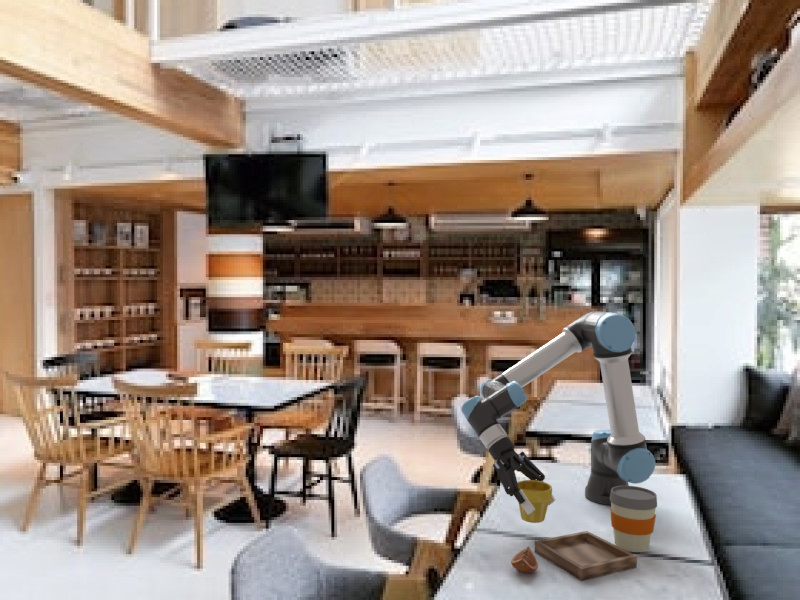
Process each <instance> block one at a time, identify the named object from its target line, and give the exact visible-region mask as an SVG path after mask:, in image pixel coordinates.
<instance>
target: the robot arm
mask: <svg viewBox="0 0 800 600" xmlns="http://www.w3.org/2000/svg"><path fill="white" fill-rule="evenodd" d="M635 340H636V328H635V325H634V324H633V323H632V321H631V320H630V319H629V318H628V317H626V316H625V315H623V314H621V313H617V312H614V311H613V312H610V311H609V312H608V311H601V310H594V311H591V312H587V313H586V314H584V315H582V316H580V317H578V318H577V319H575V320H574V321H572V322H571V323H570V324H567V325H566V326H565V327H563V328H562V332H561V333H560V334H559V335H557V336H555V338H553V339H551V340H550V341H548V342H546V343H545V344H544V345H542V346H541V347H539V348H538V349H536V350H535V351H533V352H532V353H531V354H528V355H527V356H526V357H524V358H523V359H521V360H520V361H518V362H517V363H516V364H514V365H513V366H511V367H509V368H508V369H507V370H505V371H504V372H502V373H501V374H499V375H497V376H495V378H488V379H485V380H484V381H483V382H482V383H481V385H480V389H479V391H480V395H481V396H480V395H474V396H473V397H470V398H469V399H467V400H466V401H465V402H464V403H463V404H462V405H461V413H462V415H464V418H465V420H466V421H467V423H468V424H469V426H471V428H472V429H473V431H474V432H475V434H476V435H477V437H478V438H479V439H480V441H481V442H482V444H483V445H484V447H485V449H488V453H489V454H490V456H491V458H492V459H493V460H494V461H495V462H494V463H493V464H492V467H493V468H494V470H495V471H496V473H497V475H498V477H499V479H500V482H501V484H502V487H503V489H504V492H505V493H506V494H507V495H508V496H509V497H513V496H514V497H515V500H517V502H518V504H519V503H520V504H521V506H522V507H523V509H524V510H525V511H526V513H527V514H528V515H529V514H531V513H532V512H533V511H534V510H535V508H534V507H533V505H532V504H531V502H530V501H529V499H528V498H527V496H526V495H525V494H524V492H523V491H522V489H521V490H520V491H519V487H518V483H517V482H518V480H517V476H516V472H515V471H517V472H518V473H522V475H524V476H525V477H526V478H528V480H536V481H542V482H544V480H545V479H546V475H545V473H543V472H542V470H541V469H539V468H538V467H537V465H536V464H534V463H533V461H532V460H531V459H529V457H528V456H527V455H526V453H525V452H524V451H521V452H520V453H517V452H516V451H515V447H516V446H515V444H514V442H513V441H512V440H511V438H510V437H509V436H507V435H508V434H507V432H506V431H505V429H504V428H503V427H502V425H501V424H500V423H499V421H498V420H500V419H501V418H503V417H505V416H506V415H507V414H509V413H511V412H512V411H514V410H515V409H517V408H520V406H521V405H523V404H524V403H525V402H527V400H528V399H527V398H528V397H527V394H526V392H525V390H524V389H523V388H524V387H525V386H526V385H528V384H530V383H531V382H533V381H535V380H536V379H538V378H539V377H541V376H542V375H543V374H545V373H547V372H548V371H549V370H551V369H552V368H554V367H555V366H557V365H558V364H560V363H561V362H563V361H564V360H566V359H567V358H569V357H570V356H571V355H573V354H575V353H582V352H583V351H585V350H587V349H589V348H592V352H593V354H592V355H593V358H594V359H595V360H596V361H598V362H599V366H600V372H601V377H602V378H601V379H602V384H603V385H602V386H603V391H604V398H605V404H606V412H607V416H608V424H609V429H599V430H598V429H597V430H595V431H593V432H592V435H591V436H592V438H591V451H590V453H591V454H590V455H591V456H590V459H591V460H590V475H589V478H588V481H587V484H586V486H585V489H584V496H585V498H586V499H588V500H589V501H592V502H594V503H596V504H597V503H598V504H602V505H608V506H611V501H610V493H611V489H612V488H613V487H616V486H630V484H641V483H644V482H646V481H647V480H648V479H650V477H651V476H652V475H653V473H654V472H655V468H656V459H655V457H654V455H653V453H652V452H651V451H650V450H649V449H648V448H647V441H646V437H645V436H646V435H644V434H643V433H641V432H640V430H639V422H638V416H637V409H636V402H635V395H634V390H633V385H632V378H631V370H630V364H629V358H630V356H631V355H632V353H633V348H632V346H633V345H634V344H633V343H634V342H635ZM629 483H630V484H629ZM555 501H557V499H556V498H555V496H554V495H553V494H552V498H551V500H550V501H549V503H548V506H551V505H552V504H553V503H554V502H555Z"/></svg>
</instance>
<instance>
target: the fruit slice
mask: <svg viewBox="0 0 800 600" xmlns="http://www.w3.org/2000/svg"><path fill="white" fill-rule="evenodd" d="M510 565H511V566H512V567H513V568H514V569H516V570H517V571H519V572H522V573H527V574H528V573H533V572H535V571H536V570H538V568H539V564H538V561H537V558H536V555H535V554H534V552H533V551H532V549H531V548H530V547H529V546H527V547H525V548H523V549H522V550H520V551H519V552H517V553H516V554H515V555H514V556H513V557H512V559H511V560H510Z"/></svg>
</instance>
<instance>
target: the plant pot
mask: <svg viewBox="0 0 800 600" xmlns="http://www.w3.org/2000/svg"><path fill="white" fill-rule="evenodd" d="M536 480H537V479H536ZM536 480H530V479H524V480H520V481H517V483H518V487H519V491H520V490H521V489H522V491H523V492H524V494H525V495H526V496H527V498H528V499H529V501H530V502H531V504H532V505H533V507H534V508H535V510H534V511H533V512H532V513H531V514H529V515H528V514H527V513H526V511H525V510H524V509H523V507H522V506H521V504H520V503H519V502H518V507H519V513H520V518H521V520H523V521H525V522H527V523H532V524H539V523H542V522H544V521H545V519H546V515H547V510H548V507H549V505H548V503H549V501H550V500H551V498H552V495H553V487H552V485H551V484H549V483H548V482H546V481H543V482H542V481H536Z"/></svg>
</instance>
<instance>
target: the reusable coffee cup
mask: <svg viewBox="0 0 800 600" xmlns="http://www.w3.org/2000/svg"><path fill="white" fill-rule="evenodd" d="M657 498H658V497H657V494H656V492H655V491H653V490H651V489H647V488H644V487H641V486H635V485H629V486H616V487H613V488H612V489H611V493H610V501H611V505H610V506H611V508H610V509H609V512H610V520H611V521H610V523H611V527H612V528H613V539H614V545H616V546H618V547H620V548H622V549H624V550H626V551H628V552H630V553H643V552H644V553H645V552H646V551H648V550H649V548H650V543H651V536H652V533H654V529H655V524H656V523H655V522H656V517H657V515H656V508H657V507H658V499H657Z"/></svg>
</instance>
